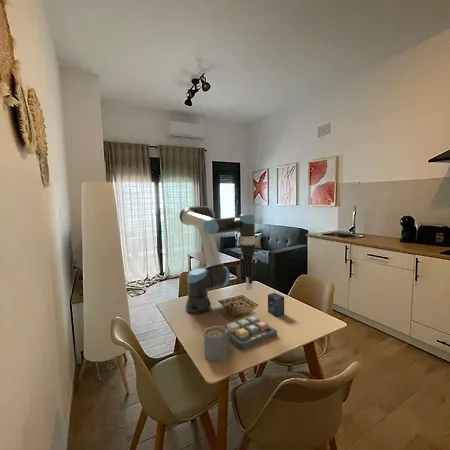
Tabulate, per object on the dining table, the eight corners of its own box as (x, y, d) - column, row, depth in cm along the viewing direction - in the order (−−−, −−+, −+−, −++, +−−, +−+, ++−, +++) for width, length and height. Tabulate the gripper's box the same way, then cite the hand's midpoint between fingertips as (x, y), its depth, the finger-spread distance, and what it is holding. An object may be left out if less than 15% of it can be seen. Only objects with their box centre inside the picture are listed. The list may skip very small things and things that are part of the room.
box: (267, 312, 149) (267, 294, 148) (275, 309, 152) (274, 292, 151) (277, 317, 142) (276, 298, 141) (284, 314, 145) (284, 296, 144)
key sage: (237, 324, 128) (237, 320, 128) (244, 322, 131) (244, 318, 130) (242, 328, 125) (242, 324, 124) (249, 325, 127) (249, 321, 127)
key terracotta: (255, 327, 126) (255, 322, 125) (262, 324, 128) (262, 320, 128) (261, 330, 122) (261, 326, 122) (268, 328, 124) (268, 323, 124)
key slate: (246, 321, 131) (246, 317, 131) (253, 319, 134) (253, 315, 134) (252, 325, 128) (252, 320, 128) (259, 322, 130) (259, 318, 130)
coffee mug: (213, 364, 103) (212, 340, 102) (200, 353, 111) (199, 330, 110) (239, 352, 111) (238, 329, 110) (225, 342, 119) (224, 321, 118)
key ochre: (235, 334, 119) (235, 330, 119) (243, 331, 121) (242, 327, 121) (240, 338, 115) (240, 334, 115) (248, 335, 118) (248, 331, 118)
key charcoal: (245, 330, 122) (245, 326, 122) (253, 328, 125) (252, 323, 124) (251, 334, 119) (251, 330, 118) (258, 331, 121) (258, 327, 121)
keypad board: (219, 332, 127) (219, 327, 127) (253, 321, 138) (253, 316, 138) (241, 350, 112) (241, 343, 111) (277, 335, 123) (276, 329, 123)
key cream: (227, 328, 125) (226, 324, 125) (234, 325, 127) (234, 321, 127) (232, 332, 121) (232, 327, 121) (239, 329, 124) (239, 325, 123)
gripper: (234, 243, 136) (236, 287, 138) (249, 246, 125) (251, 294, 127) (245, 242, 140) (247, 284, 142) (261, 244, 129) (263, 290, 131)
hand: (249, 289), depth 134 cm, fingers closed
